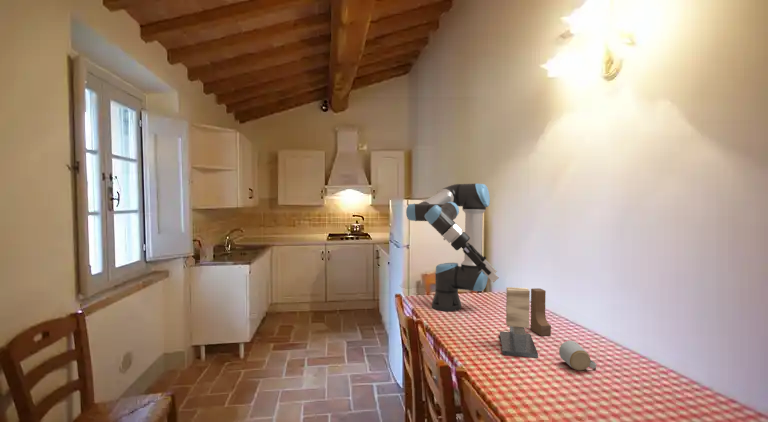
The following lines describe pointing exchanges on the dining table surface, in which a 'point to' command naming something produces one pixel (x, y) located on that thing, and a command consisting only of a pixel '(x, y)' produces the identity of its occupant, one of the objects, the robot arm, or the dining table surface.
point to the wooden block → (539, 313)
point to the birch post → (517, 307)
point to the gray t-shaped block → (518, 343)
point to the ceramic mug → (575, 356)
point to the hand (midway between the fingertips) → (495, 276)
